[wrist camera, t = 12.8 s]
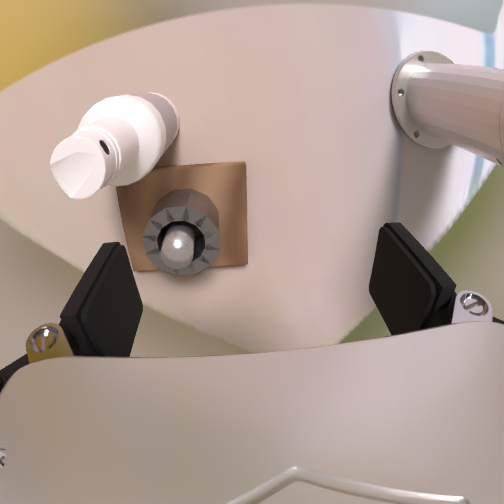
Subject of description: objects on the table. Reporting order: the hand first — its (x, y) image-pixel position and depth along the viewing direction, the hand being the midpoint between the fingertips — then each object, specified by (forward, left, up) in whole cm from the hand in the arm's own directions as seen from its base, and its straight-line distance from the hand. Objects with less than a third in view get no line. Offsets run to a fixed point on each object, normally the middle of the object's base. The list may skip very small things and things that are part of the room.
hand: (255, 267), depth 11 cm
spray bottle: (+8, -3, -24) cm, 25 cm away
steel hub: (+5, +8, -22) cm, 24 cm away
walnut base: (+5, +8, -23) cm, 25 cm away
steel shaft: (+5, +8, -22) cm, 24 cm away
